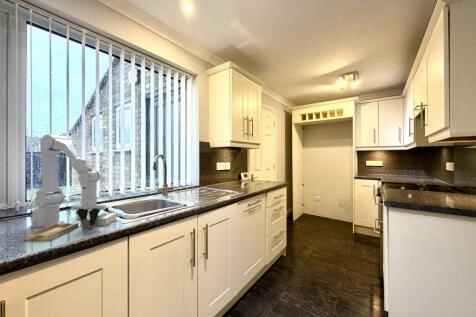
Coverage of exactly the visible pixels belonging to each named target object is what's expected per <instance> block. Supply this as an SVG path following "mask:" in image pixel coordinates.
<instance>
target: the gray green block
mask: <svg viewBox="0 0 476 317" xmlns="http://www.w3.org/2000/svg"><path fill="white" fill-rule="evenodd" d="M106 213H107V212H106V211H100V212H99V213H98V215H97V217H96V220H95V224H94V225H90V215H88V218H86V219H83V220H82V226H81V228H82V229H81V230H82V231H83V230H84V231H85V229H89V230H91V229H93V228H94V226H95V227H97V226H101V218H103V217H105V216H106ZM96 225H97V226H96Z"/></svg>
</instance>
